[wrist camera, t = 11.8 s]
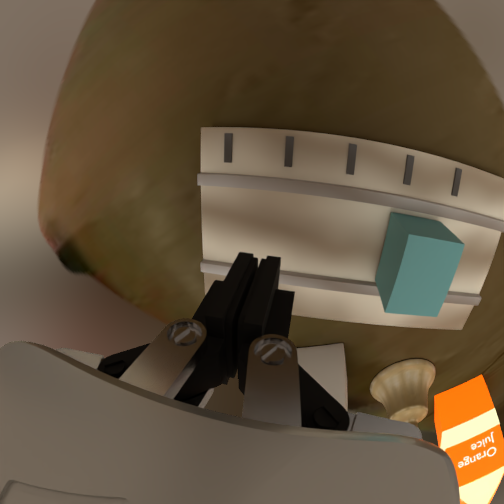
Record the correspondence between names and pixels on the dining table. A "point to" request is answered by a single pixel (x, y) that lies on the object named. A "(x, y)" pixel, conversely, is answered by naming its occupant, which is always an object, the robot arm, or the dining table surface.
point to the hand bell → (404, 389)
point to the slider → (417, 265)
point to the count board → (340, 216)
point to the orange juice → (471, 439)
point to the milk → (326, 368)
